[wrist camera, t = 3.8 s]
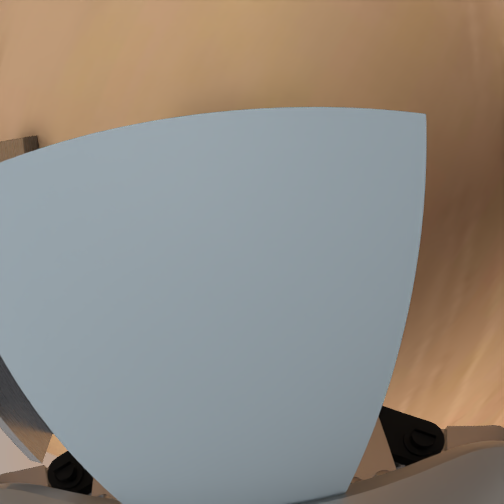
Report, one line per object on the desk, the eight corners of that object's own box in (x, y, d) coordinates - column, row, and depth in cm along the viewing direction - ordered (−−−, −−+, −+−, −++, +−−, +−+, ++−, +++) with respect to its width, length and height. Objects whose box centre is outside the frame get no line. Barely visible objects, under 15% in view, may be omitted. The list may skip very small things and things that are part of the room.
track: (-60, 178, 8) (-108, 198, 5) (36, 135, 9) (-23, 146, 5) (45, 420, 15) (30, 460, 11) (137, 429, 15) (129, 478, 12)
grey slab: (163, 133, 9) (-60, 188, 1) (253, 123, 10) (426, 115, 1) (217, 418, 15) (226, 573, 7) (272, 412, 15) (303, 565, 7)
